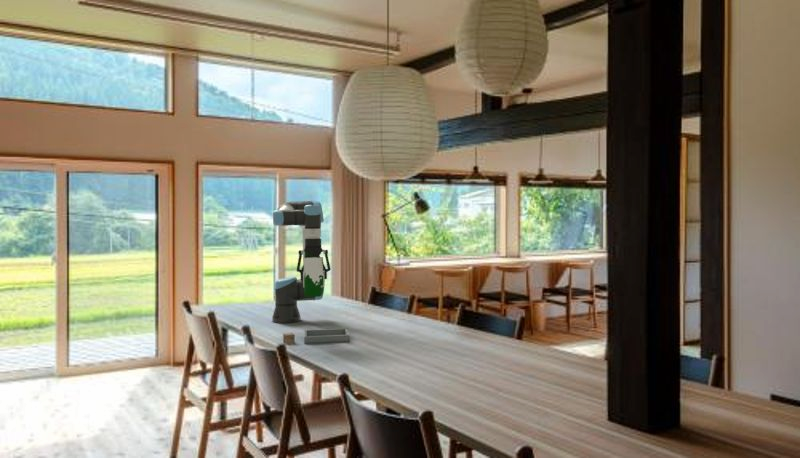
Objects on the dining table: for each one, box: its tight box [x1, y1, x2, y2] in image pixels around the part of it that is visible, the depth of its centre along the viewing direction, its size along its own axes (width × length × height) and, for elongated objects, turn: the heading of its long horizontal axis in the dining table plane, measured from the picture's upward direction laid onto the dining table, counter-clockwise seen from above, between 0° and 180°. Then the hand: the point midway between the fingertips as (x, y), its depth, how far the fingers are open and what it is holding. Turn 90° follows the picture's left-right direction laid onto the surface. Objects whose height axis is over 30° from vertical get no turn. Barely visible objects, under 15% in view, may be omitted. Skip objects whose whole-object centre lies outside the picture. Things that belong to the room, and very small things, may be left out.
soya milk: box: [302, 253, 325, 297], centre depth 285 cm, size 9×9×20 cm
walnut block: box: [282, 332, 296, 345], centre depth 277 cm, size 4×4×4 cm
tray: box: [303, 328, 350, 345], centre depth 283 cm, size 16×20×3 cm
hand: (313, 286), depth 285 cm, fingers closed on soya milk, 8 cm apart
